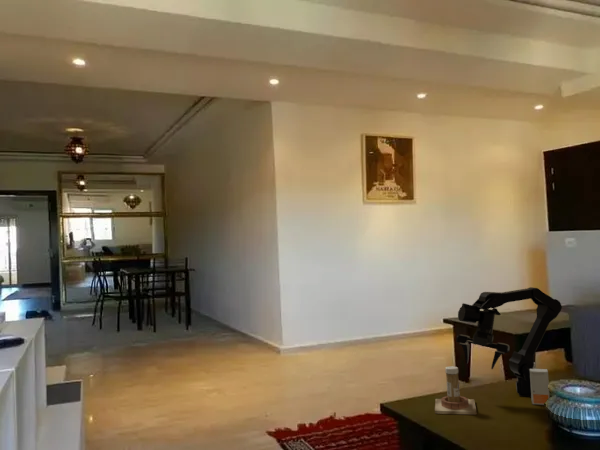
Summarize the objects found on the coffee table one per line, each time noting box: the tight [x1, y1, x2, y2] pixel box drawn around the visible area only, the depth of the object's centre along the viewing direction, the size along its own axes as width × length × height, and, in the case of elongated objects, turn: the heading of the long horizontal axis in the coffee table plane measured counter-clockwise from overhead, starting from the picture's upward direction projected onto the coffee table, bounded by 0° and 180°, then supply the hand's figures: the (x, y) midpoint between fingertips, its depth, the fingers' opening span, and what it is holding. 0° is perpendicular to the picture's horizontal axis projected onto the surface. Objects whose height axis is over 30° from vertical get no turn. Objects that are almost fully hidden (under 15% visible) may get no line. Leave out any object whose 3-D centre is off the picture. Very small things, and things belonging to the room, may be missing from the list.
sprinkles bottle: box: [445, 365, 461, 402], centre depth 191 cm, size 5×5×14 cm
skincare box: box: [530, 368, 551, 406], centre depth 190 cm, size 6×4×12 cm
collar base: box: [434, 395, 478, 415], centre depth 191 cm, size 14×14×3 cm
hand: (479, 366), depth 199 cm, fingers open, 9 cm apart
